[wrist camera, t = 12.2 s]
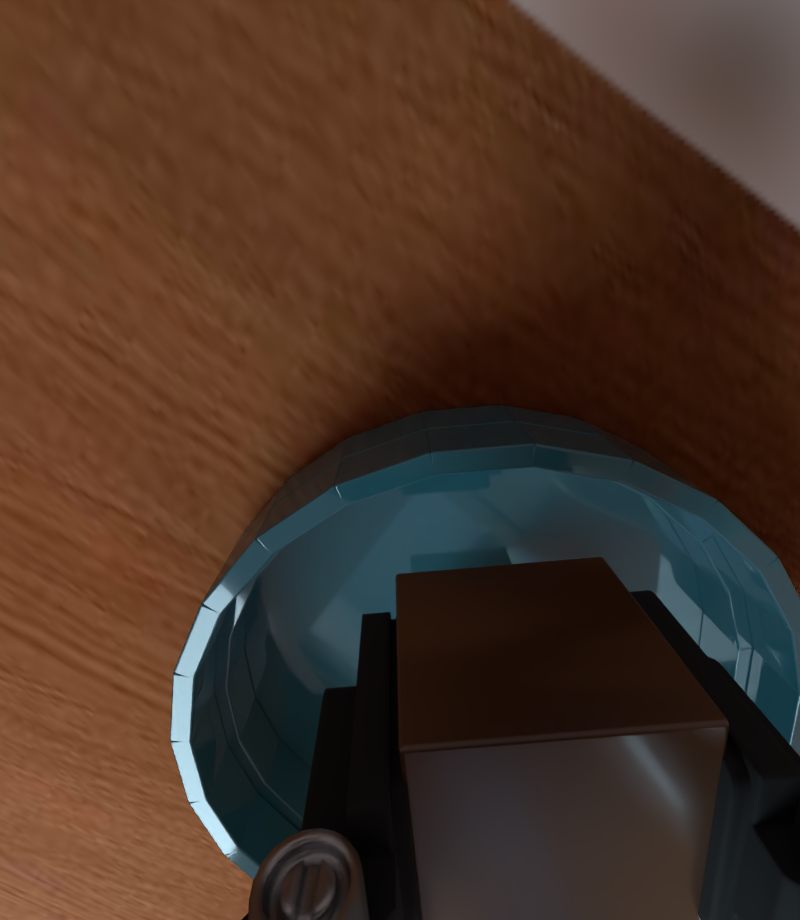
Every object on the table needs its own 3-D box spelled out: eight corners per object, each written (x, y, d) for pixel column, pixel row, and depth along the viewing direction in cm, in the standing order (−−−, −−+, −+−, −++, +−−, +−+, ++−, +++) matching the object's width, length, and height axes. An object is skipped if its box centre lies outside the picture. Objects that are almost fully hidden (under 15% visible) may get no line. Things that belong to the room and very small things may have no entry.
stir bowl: (754, 378, 16) (884, 413, 12) (695, 807, 22) (768, 933, 18) (169, 428, 16) (91, 481, 12) (267, 837, 22) (237, 969, 18)
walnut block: (603, 554, 10) (733, 722, 6) (595, 717, 11) (699, 938, 8) (395, 572, 10) (397, 749, 6) (411, 732, 11) (422, 958, 8)
